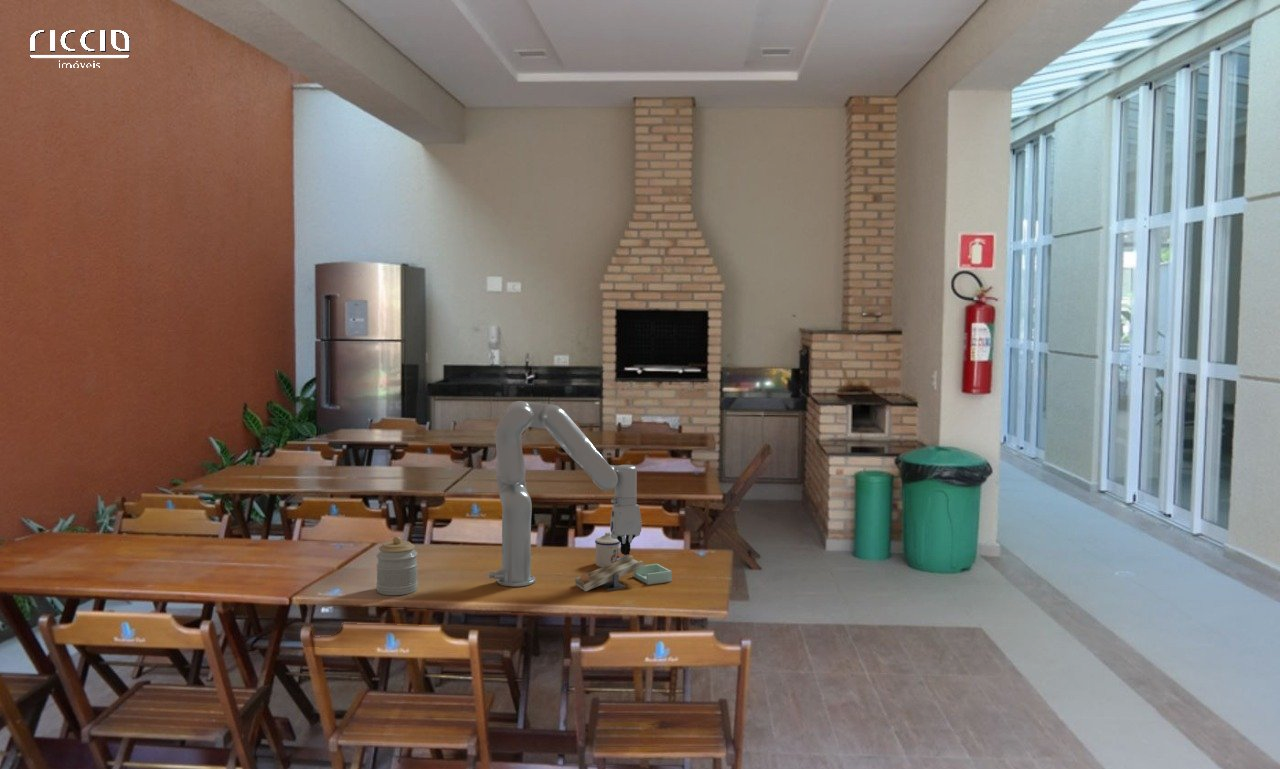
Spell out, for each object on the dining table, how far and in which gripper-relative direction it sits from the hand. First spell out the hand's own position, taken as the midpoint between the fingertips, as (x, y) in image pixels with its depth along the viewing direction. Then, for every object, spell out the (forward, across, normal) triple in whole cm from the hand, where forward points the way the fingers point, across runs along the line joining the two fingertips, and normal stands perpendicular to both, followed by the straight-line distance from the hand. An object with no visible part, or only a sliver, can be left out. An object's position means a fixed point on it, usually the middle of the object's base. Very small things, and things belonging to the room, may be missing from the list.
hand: (625, 553), depth 323 cm
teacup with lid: (+8, +2, +17) cm, 19 cm away
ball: (+4, -18, -7) cm, 20 cm away
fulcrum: (+8, -9, -7) cm, 14 cm away
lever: (+5, -9, -5) cm, 11 cm away
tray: (+8, +7, -7) cm, 12 cm away
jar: (+8, -74, +16) cm, 76 cm away
